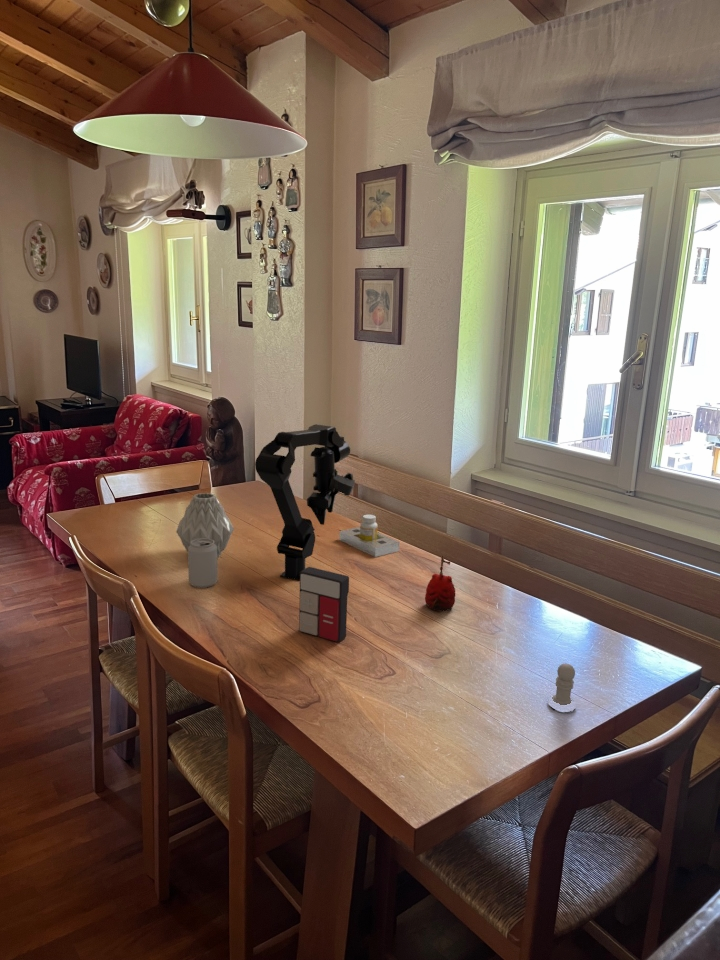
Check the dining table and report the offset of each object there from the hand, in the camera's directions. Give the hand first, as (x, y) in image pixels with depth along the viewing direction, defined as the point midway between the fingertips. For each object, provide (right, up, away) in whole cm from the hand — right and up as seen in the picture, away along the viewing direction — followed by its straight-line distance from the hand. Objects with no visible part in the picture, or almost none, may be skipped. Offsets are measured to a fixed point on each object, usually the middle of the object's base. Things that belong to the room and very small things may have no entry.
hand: (326, 518), depth 208 cm
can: (-32, -17, -19) cm, 41 cm away
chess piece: (+49, -33, -70) cm, 92 cm away
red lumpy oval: (+30, -21, -28) cm, 46 cm away
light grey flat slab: (+13, -9, +14) cm, 21 cm away
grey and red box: (+1, -25, -45) cm, 51 cm away
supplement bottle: (+12, -10, +14) cm, 21 cm away
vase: (-36, -11, +1) cm, 37 cm away
